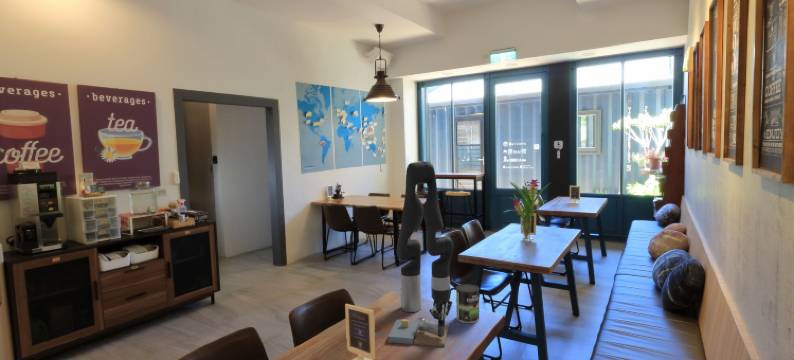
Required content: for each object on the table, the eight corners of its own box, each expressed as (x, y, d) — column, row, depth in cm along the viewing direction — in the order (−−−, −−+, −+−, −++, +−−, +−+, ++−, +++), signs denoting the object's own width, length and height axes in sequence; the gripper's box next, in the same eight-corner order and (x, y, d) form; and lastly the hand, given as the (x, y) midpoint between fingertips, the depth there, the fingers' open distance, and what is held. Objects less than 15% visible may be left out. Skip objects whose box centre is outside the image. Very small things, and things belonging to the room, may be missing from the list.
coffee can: (484, 320, 185) (484, 289, 184) (465, 325, 180) (465, 293, 179) (470, 311, 194) (469, 282, 193) (451, 316, 190) (451, 286, 188)
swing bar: (416, 329, 172) (416, 319, 172) (421, 326, 174) (421, 316, 174) (440, 337, 164) (440, 327, 164) (445, 334, 166) (444, 324, 166)
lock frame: (396, 324, 183) (396, 313, 182) (448, 328, 178) (448, 316, 178) (388, 342, 167) (387, 330, 167) (444, 346, 163) (444, 334, 162)
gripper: (438, 293, 160) (439, 336, 162) (457, 283, 170) (458, 324, 172) (423, 289, 165) (424, 331, 167) (442, 279, 175) (443, 319, 177)
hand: (441, 327), depth 169 cm, fingers closed
